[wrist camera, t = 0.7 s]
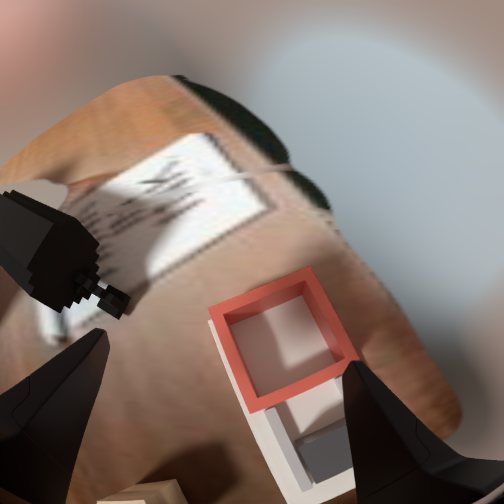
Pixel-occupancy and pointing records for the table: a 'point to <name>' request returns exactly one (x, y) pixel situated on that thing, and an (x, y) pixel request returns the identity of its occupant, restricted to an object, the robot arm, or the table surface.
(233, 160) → the table surface
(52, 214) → the security camera
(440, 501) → the robot arm
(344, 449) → the toggle
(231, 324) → the slide switch base
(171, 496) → the block
